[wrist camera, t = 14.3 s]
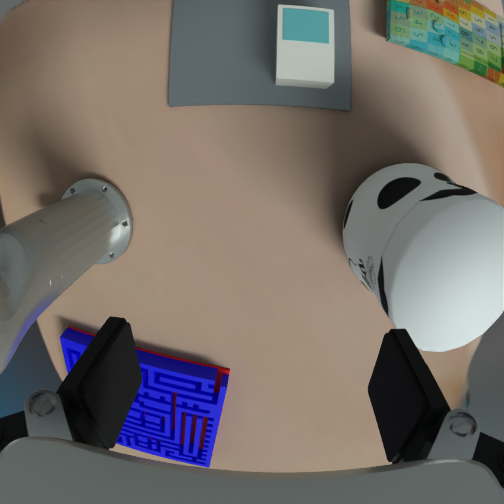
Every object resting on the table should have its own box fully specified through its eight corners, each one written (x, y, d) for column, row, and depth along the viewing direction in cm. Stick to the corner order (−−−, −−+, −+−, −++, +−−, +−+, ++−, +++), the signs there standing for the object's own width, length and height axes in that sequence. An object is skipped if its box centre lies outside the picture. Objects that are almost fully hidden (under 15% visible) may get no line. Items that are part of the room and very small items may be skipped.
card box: (276, 19, 30) (278, 4, 25) (326, 23, 30) (334, 9, 25) (275, 85, 33) (276, 78, 29) (325, 89, 33) (334, 82, 28)
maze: (70, 324, 50) (60, 336, 46) (230, 366, 50) (227, 383, 47) (91, 420, 61) (85, 431, 57) (211, 453, 61) (209, 467, 58)
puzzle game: (390, -37, 22) (509, 19, 22) (379, -24, 27) (492, 24, 27) (392, 36, 27) (513, 87, 26) (379, 45, 31) (495, 89, 31)
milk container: (332, 282, 43) (363, 370, 26) (338, 155, 37) (392, 177, 20) (438, 278, 42) (500, 348, 25) (454, 164, 36) (542, 193, 19)
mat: (169, 106, 35) (168, 106, 35) (176, -15, 29) (175, -17, 28) (349, 111, 34) (350, 110, 34) (347, -13, 28) (348, -15, 27)
